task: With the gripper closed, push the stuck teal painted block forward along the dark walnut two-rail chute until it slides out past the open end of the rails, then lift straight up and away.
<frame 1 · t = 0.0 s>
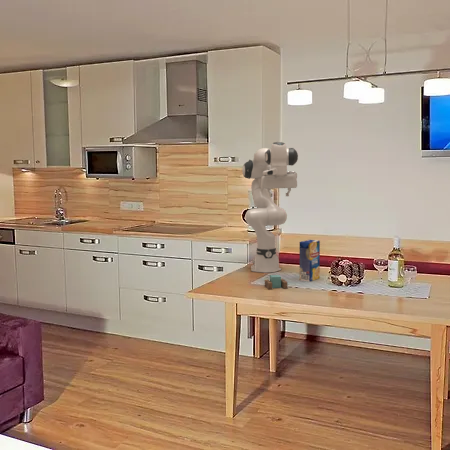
hand: (279, 196, 319), 48 cm above the table, fingers open, 8 cm apart
beverage box: (309, 279, 328), on the table
block: (275, 281, 310), point 3 cm above the table, slide at 0.0 cm
chute: (275, 287, 309), on the table
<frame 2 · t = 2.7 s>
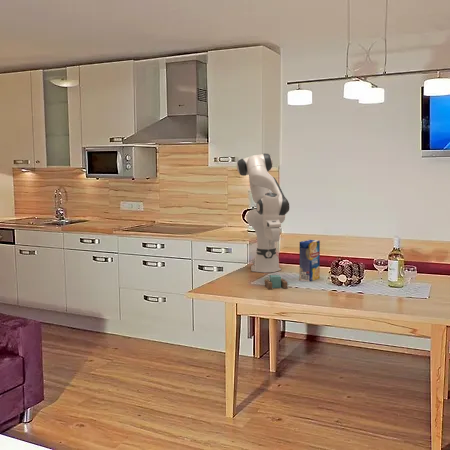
hand: (271, 247, 315), 20 cm above the table, fingers closed
nothing on the table moved.
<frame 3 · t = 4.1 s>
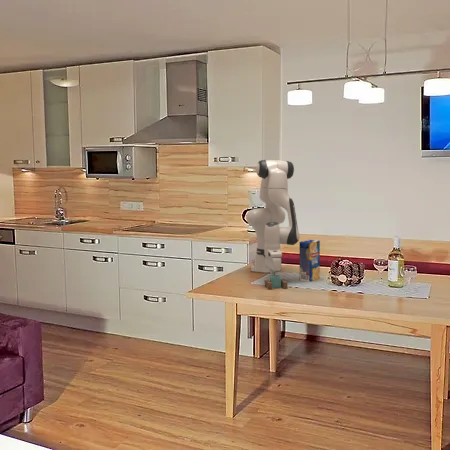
hand: (272, 276, 317), 4 cm above the table, fingers closed
nothing on the table moved.
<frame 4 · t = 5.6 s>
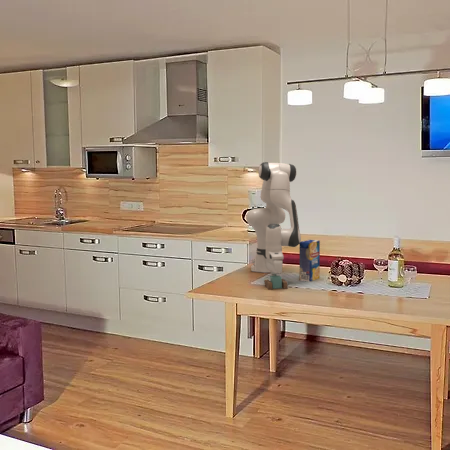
hand: (274, 279, 313), 4 cm above the table, fingers closed
block: (276, 282, 308), point 3 cm above the table, slide at 1.3 cm, touching gripper
everything else where it was.
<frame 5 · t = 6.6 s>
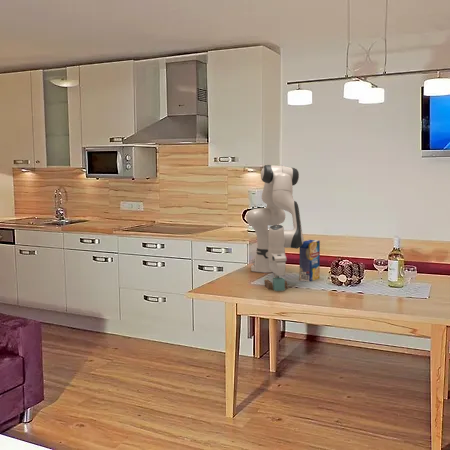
hand: (276, 281, 307), 4 cm above the table, fingers closed
block: (278, 284, 303), point 3 cm above the table, slide at 7.1 cm, touching gripper
everything else where it was.
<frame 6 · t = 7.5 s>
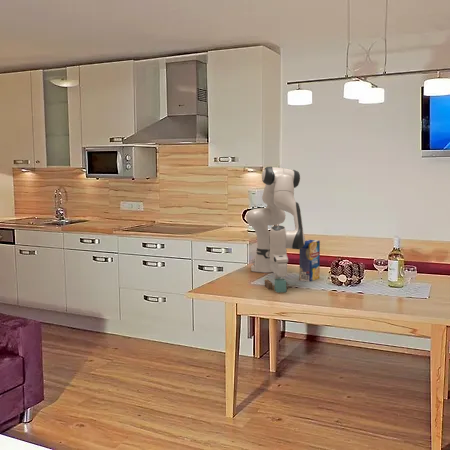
hand: (278, 282, 304), 4 cm above the table, fingers closed
block: (280, 285, 300), point 3 cm above the table, slide at 10.2 cm, touching gripper
everything else where it was.
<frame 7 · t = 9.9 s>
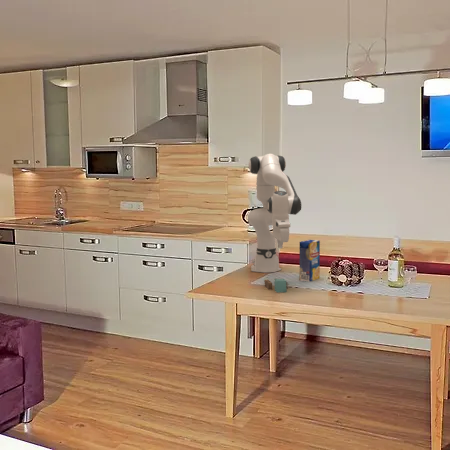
hand: (280, 248, 303), 22 cm above the table, fingers closed
block: (280, 285, 300), point 3 cm above the table, slide at 10.4 cm
everything else where it was.
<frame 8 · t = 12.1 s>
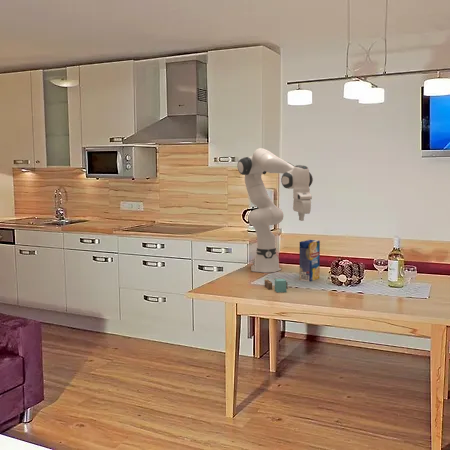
hand: (301, 220, 313), 35 cm above the table, fingers closed
nothing on the table moved.
at the end: block slide at 10.4 cm; the gripper is holding nothing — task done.
